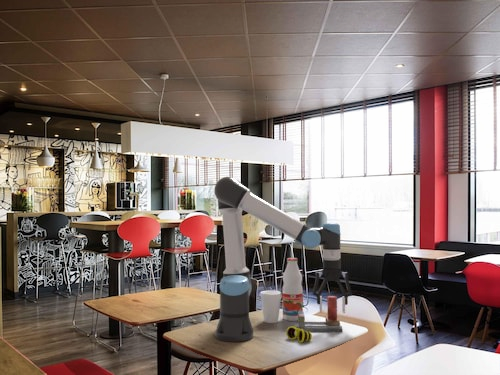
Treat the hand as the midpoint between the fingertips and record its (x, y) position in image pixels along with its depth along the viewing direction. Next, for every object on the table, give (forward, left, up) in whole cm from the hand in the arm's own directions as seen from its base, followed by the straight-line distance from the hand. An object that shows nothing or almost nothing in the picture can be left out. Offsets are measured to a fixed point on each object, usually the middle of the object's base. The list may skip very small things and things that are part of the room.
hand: (332, 312), depth 182 cm
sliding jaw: (0, 0, -5) cm, 5 cm away
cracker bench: (-6, 0, -7) cm, 9 cm away
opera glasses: (-15, -16, -7) cm, 23 cm away
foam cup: (-27, +11, -7) cm, 30 cm away
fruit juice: (-17, +16, -7) cm, 24 cm away
